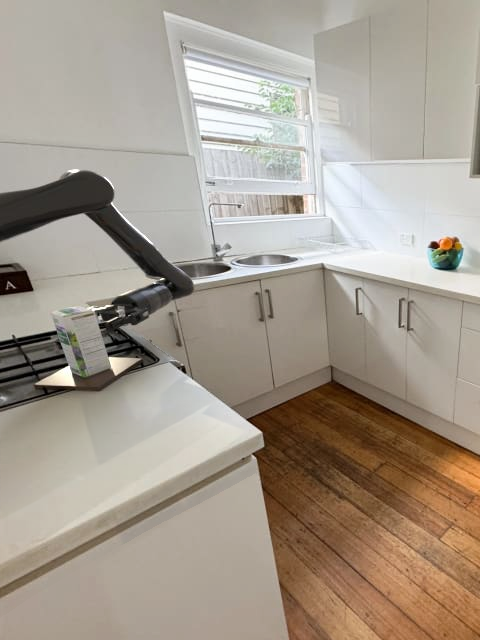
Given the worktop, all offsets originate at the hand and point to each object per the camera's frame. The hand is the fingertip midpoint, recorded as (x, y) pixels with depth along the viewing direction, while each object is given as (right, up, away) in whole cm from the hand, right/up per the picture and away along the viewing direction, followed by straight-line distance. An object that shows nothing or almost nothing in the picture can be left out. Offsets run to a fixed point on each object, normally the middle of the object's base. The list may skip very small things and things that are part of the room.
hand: (88, 326), depth 86 cm
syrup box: (0, -10, +1) cm, 10 cm away
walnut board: (0, -11, +2) cm, 11 cm away
